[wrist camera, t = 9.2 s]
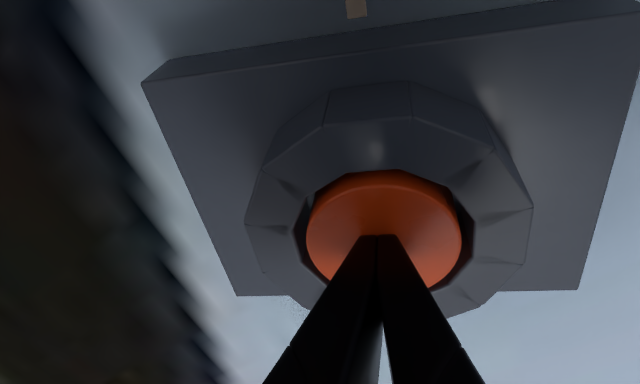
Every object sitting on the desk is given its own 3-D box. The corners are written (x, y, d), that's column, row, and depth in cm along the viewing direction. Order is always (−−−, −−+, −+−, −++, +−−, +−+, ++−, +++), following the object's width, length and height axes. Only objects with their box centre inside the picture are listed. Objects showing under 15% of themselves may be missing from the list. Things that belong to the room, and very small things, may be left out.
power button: (327, 252, 12) (320, 299, 11) (302, 150, 10) (290, 192, 9) (451, 248, 12) (460, 297, 10) (452, 136, 9) (464, 179, 8)
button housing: (248, 262, 16) (220, 342, 13) (167, 58, 11) (96, 116, 8) (559, 250, 14) (604, 344, 11) (617, -10, 9) (723, 37, 6)
